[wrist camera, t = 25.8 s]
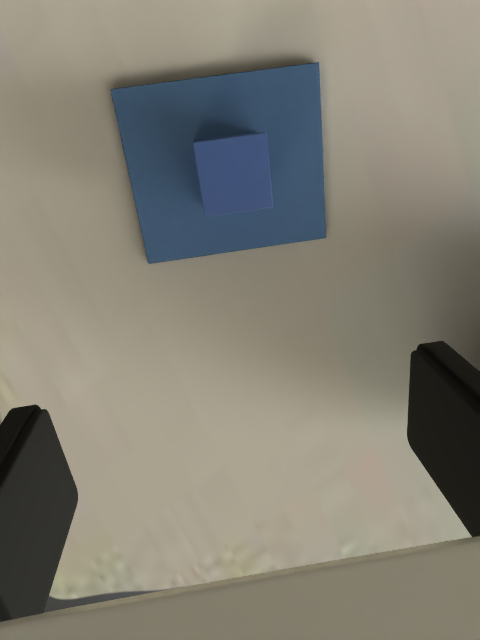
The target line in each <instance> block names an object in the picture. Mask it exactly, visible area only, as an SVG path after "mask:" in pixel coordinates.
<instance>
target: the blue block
mask: <svg viewBox="0 0 480 640" xmlns="http://www.w3.org/2000/svg"><path fill="white" fill-rule="evenodd" d="M193 147H194V153H195V160H196V166H197V172H198V179H199V185H200V192H201V198H202V205H203V211H204V217H208V216H215V215H222V214H229V213H237V212H244V211H251V210H258V209H265V208H272V207H273V201H272V190H271V179H270V168H269V156H268V145H267V134H266V132H254V133H246V134H239V135H231V136H224V137H217V138H209V139H202V140H194V141H193Z"/></svg>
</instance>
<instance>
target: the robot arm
mask: <svg viewBox="0 0 480 640" xmlns="http://www.w3.org/2000/svg"><path fill="white" fill-rule="evenodd" d="M407 437H408V441H409V444H410V447H411V448H412V450H413V451H414V453H415V454H416V456H417V457H418V459H419V460H420V462H421V463H422V464H423V466H424V467H425V469H426V470H427V472H428V473H429V475H430V476H431V478H432V479H433V480H434V482H435V483H436V485H437V486H438V488H439V489H440V491H441V492H442V494H443V495H444V497H445V498H446V499H447V501H448V502H449V504H450V505H451V507H452V508H453V510H454V511H455V513H456V514H457V515H458V517H459V518H460V520H461V521H462V523H463V524H464V526H465V527H466V529H467V530H468V532H469V533H470V534H471V536H472V537H471V538H464V539H458V540H451V541H445V542H439V543H433V544H427V545H422V546H416V547H410V548H404V549H398V550H392V551H386V552H381V553H375V554H369V555H363V556H357V557H351V558H346V559H340V560H334V561H328V562H322V563H317V564H311V565H305V566H300V567H294V568H288V569H283V570H277V571H271V572H266V573H260V574H254V575H249V576H243V577H238V578H232V579H226V580H221V581H215V582H209V583H204V584H198V585H193V586H187V587H182V588H176V589H171V590H165V591H160V592H155V593H149V594H143V595H138V596H132V597H127V598H122V599H116V600H111V601H106V602H100V603H95V604H90V605H83V606H78V607H72V608H67V609H63V610H57V611H53V612H47V613H43V612H44V609H45V606H46V603H47V599H48V596H49V593H50V590H51V587H52V583H53V580H54V577H55V574H56V570H57V567H58V564H59V561H60V558H61V554H62V551H63V548H64V545H65V541H66V538H67V535H68V532H69V529H70V525H71V522H72V519H73V516H74V513H75V509H76V506H77V502H78V492H77V488H76V485H75V482H74V480H73V477H72V474H71V472H70V469H69V466H68V463H67V461H66V458H65V455H64V453H63V450H62V447H61V445H60V442H59V439H58V437H57V434H56V431H55V428H54V426H53V423H52V420H51V418H50V415H49V413H48V411H47V410H45V409H42V410H41V408H40V407H39V406H38V405H31V406H24V407H18V408H13V409H11V410H10V411H9V412H8V414H7V416H6V417H5V419H4V420H3V422H2V423H1V425H0V640H480V371H479V370H477V369H476V368H475V367H474V366H473V365H471V364H470V363H469V362H468V361H467V360H465V359H464V358H463V357H462V356H461V355H460V354H458V353H457V352H456V351H455V350H454V349H452V348H451V347H450V346H449V345H448V344H446V343H445V342H444V341H437V342H430V343H424V344H420V345H418V347H417V350H415V351H413V352H412V353H411V362H410V384H409V405H408V426H407Z"/></svg>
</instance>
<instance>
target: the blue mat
mask: <svg viewBox="0 0 480 640" xmlns="http://www.w3.org/2000/svg"><path fill="white" fill-rule="evenodd" d="M111 94H112V99H113V103H114V108H115V113H116V117H117V122H118V126H119V131H120V136H121V140H122V145H123V149H124V154H125V159H126V163H127V168H128V172H129V177H130V182H131V186H132V191H133V195H134V200H135V205H136V209H137V214H138V218H139V223H140V228H141V232H142V237H143V241H144V246H145V250H146V255H147V260H148V263H149V264H151V263H157V262H164V261H171V260H178V259H185V258H192V257H198V256H205V255H212V254H219V253H226V252H233V251H240V250H246V249H253V248H260V247H267V246H274V245H281V244H287V243H294V242H301V241H308V240H315V239H322V238H326V223H325V198H324V173H323V148H322V123H321V98H320V73H319V62H317V63H309V64H302V65H294V66H286V67H278V68H271V69H263V70H255V71H247V72H240V73H232V74H224V75H216V76H209V77H201V78H193V79H186V80H178V81H170V82H162V83H155V84H147V85H139V86H131V87H124V88H116V89H111ZM254 132H266V134H267V145H268V156H269V168H270V179H271V190H272V201H273V207H272V208H265V209H258V210H251V211H244V212H237V213H229V214H222V215H215V216H208V217H204V211H203V205H202V198H201V192H200V185H199V179H198V172H197V166H196V160H195V153H194V147H193V141H194V140H202V139H209V138H217V137H224V136H231V135H239V134H246V133H254Z"/></svg>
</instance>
